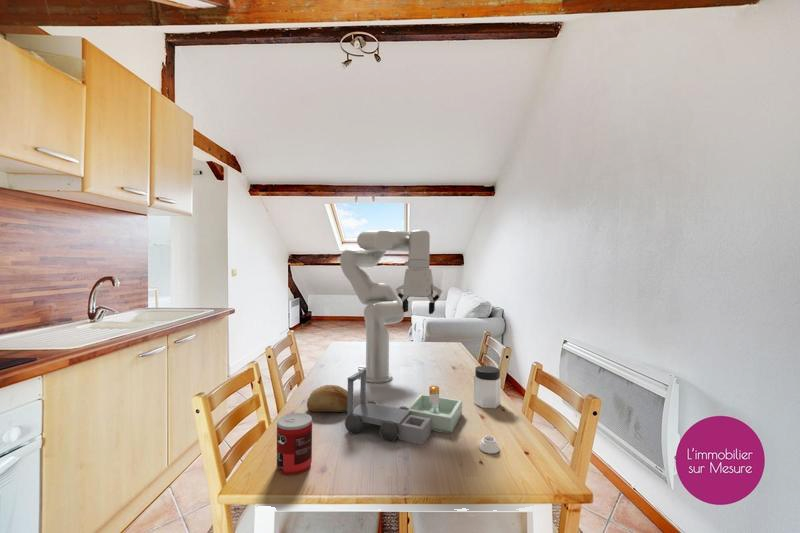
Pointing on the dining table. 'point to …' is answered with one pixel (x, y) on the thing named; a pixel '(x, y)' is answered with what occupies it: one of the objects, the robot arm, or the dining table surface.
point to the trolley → (384, 417)
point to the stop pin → (434, 399)
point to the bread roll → (328, 399)
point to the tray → (447, 412)
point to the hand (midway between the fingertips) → (418, 312)
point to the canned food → (294, 443)
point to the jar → (487, 386)
